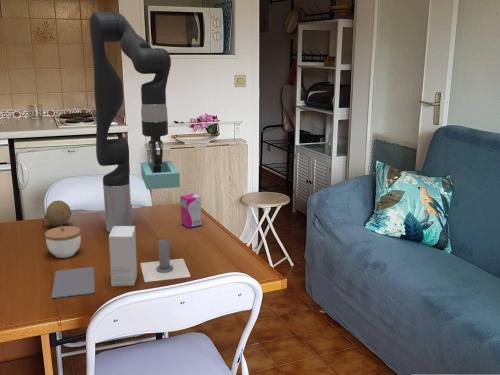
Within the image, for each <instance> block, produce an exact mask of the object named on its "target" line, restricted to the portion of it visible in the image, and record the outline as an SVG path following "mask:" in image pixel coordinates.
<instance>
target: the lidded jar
mask: <svg viewBox="0 0 500 375" xmlns="http://www.w3.org/2000/svg"><path fill="white" fill-rule="evenodd" d="M81 233H82V232H81V229H80V227H77V226H71V225H70V226H67V225H65V226H64V225H62V226H60V227H57V226H56V227H54V228H51V229H48V230H47V231H45V233H44V237H45V242H46V246H47V249H48V250H49V252H50V254H52V255H53V256H54V257H56V258H58V259H65V258H70V257H72V256H74V255H75V254H76V253H77V251H78V250H79V248H80V247H81V242H82V241H81V240H82V239H81V238H82V237H81Z"/></svg>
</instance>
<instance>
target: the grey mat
mask: <svg viewBox="0 0 500 375" xmlns="http://www.w3.org/2000/svg"><path fill="white" fill-rule="evenodd" d="M54 271H55V272H54V278H53V285H52V292H51V299H50V300H53V299H52V298H56V299H62V298H61V297H64V298H69V297H68V296H73V297H79V296H78V295H81V296H89V295H95V290H96V289H95V287H96V286H95V266H89V267H79V268H72V269H71V268H69V269H61V270H54ZM59 297H60V298H59Z"/></svg>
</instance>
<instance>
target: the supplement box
mask: <svg viewBox="0 0 500 375" xmlns="http://www.w3.org/2000/svg"><path fill="white" fill-rule="evenodd" d="M179 197H180V198H179V199H180V215H181V217H180V218H181V225H182V226H183V227H185V228H186V229H188V228H189V229H192V228H193V229H194V228H199V227H202V207H201V204H202V203H201V196H200V195H198V194H196V193H188V194H182V195H180V196H179Z"/></svg>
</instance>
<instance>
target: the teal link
mask: <svg viewBox="0 0 500 375" xmlns="http://www.w3.org/2000/svg"><path fill="white" fill-rule="evenodd" d="M162 162H163V163H162V164H161V173H154V172H153V164H152V163H153V162H151V161H148V162H146V161H145V162H140V169H141V170H140V172H141V178H142V180H143V182H144V187H145V188H146V190H157V189H171V188H172V189H174V188H180V187H181V182H180V180H181V178H180V172H179V170H178V169H177V167H176V166H175V164H174V163H173V162H172V161H171V160H164V161H163V160H162Z"/></svg>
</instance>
